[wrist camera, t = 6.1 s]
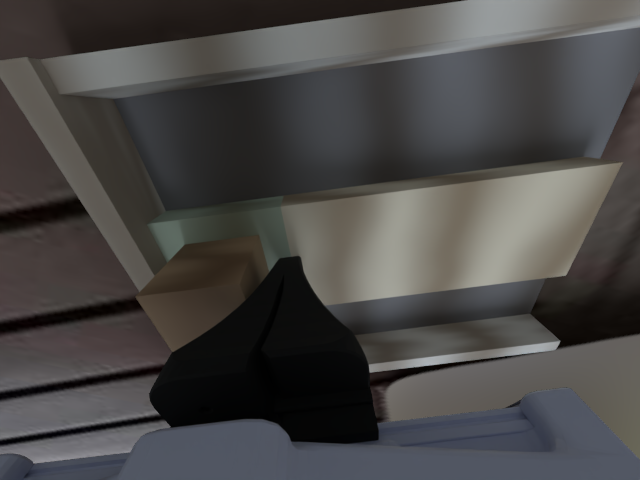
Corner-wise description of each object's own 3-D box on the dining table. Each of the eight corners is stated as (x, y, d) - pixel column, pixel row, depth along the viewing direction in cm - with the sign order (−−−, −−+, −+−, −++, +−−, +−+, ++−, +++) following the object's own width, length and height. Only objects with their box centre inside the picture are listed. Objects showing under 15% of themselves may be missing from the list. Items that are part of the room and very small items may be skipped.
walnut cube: (210, 300, 14) (178, 361, 11) (184, 244, 12) (135, 296, 9) (274, 292, 14) (264, 351, 11) (259, 234, 12) (239, 283, 9)
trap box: (222, 355, 20) (208, 397, 17) (81, 77, 10) (-11, 61, 7) (521, 318, 20) (560, 354, 17) (661, -3, 10) (810, -52, 7)
